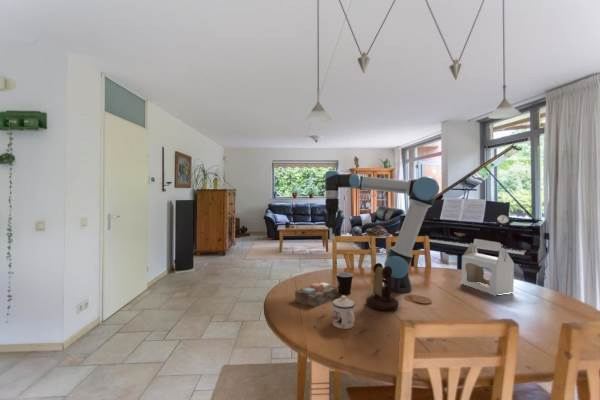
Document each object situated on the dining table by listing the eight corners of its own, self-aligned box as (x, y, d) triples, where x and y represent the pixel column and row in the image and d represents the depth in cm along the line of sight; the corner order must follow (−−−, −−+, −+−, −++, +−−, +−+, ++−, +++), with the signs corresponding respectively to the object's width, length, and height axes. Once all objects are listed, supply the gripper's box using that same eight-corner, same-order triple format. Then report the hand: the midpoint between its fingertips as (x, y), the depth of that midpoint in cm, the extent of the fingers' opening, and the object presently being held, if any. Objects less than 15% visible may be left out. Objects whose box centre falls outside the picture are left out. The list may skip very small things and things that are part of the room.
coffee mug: (352, 296, 150) (352, 277, 150) (335, 295, 152) (335, 276, 152) (352, 289, 162) (353, 271, 161) (337, 288, 163) (337, 270, 163)
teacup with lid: (327, 321, 120) (328, 293, 120) (346, 318, 123) (346, 291, 123) (343, 334, 109) (344, 304, 109) (363, 330, 113) (363, 300, 112)
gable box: (513, 294, 158) (515, 243, 157) (496, 296, 153) (497, 244, 153) (477, 282, 179) (478, 237, 178) (460, 284, 174) (461, 238, 174)
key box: (319, 292, 156) (319, 282, 156) (337, 297, 148) (337, 287, 148) (295, 301, 142) (295, 290, 142) (313, 307, 134) (313, 296, 134)
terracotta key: (316, 292, 149) (316, 282, 148) (322, 294, 146) (323, 284, 145) (310, 294, 145) (310, 284, 145) (317, 296, 142) (317, 286, 142)
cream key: (323, 291, 153) (323, 282, 153) (329, 293, 150) (330, 284, 150) (318, 293, 150) (318, 284, 150) (324, 295, 147) (324, 286, 147)
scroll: (360, 302, 141) (360, 262, 141) (384, 299, 147) (384, 260, 147) (379, 314, 128) (380, 269, 128) (405, 309, 134) (406, 266, 133)
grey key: (308, 297, 144) (308, 287, 144) (315, 299, 141) (315, 289, 141) (302, 299, 141) (302, 289, 141) (309, 301, 138) (309, 291, 138)
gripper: (318, 198, 166) (318, 239, 166) (338, 198, 157) (338, 241, 158) (326, 198, 171) (326, 237, 172) (345, 198, 163) (345, 239, 163)
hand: (332, 239), depth 165 cm, fingers closed
